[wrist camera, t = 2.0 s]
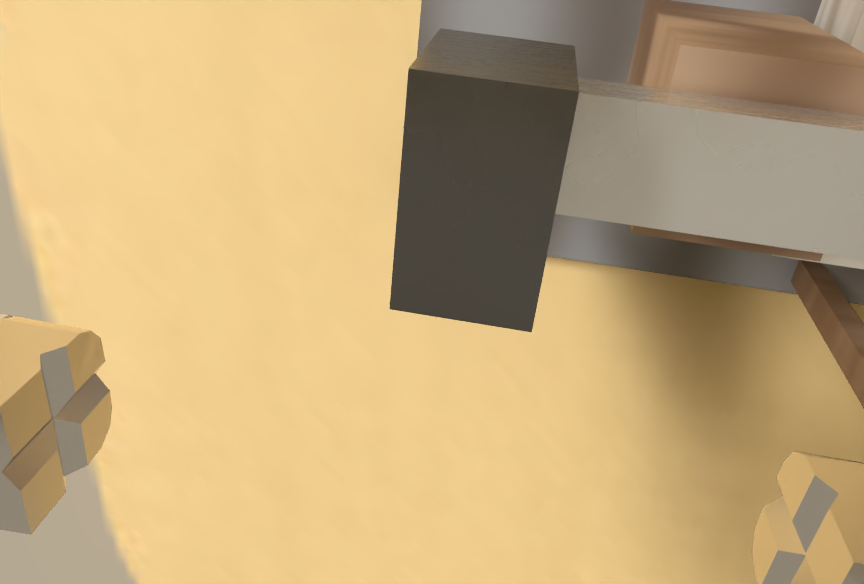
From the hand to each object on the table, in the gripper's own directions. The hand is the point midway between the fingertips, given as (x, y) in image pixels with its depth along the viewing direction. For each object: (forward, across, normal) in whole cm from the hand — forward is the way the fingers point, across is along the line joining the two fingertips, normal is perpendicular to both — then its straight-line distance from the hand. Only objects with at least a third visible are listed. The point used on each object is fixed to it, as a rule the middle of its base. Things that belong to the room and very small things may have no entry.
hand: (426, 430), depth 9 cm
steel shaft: (+12, -8, 0) cm, 14 cm away
